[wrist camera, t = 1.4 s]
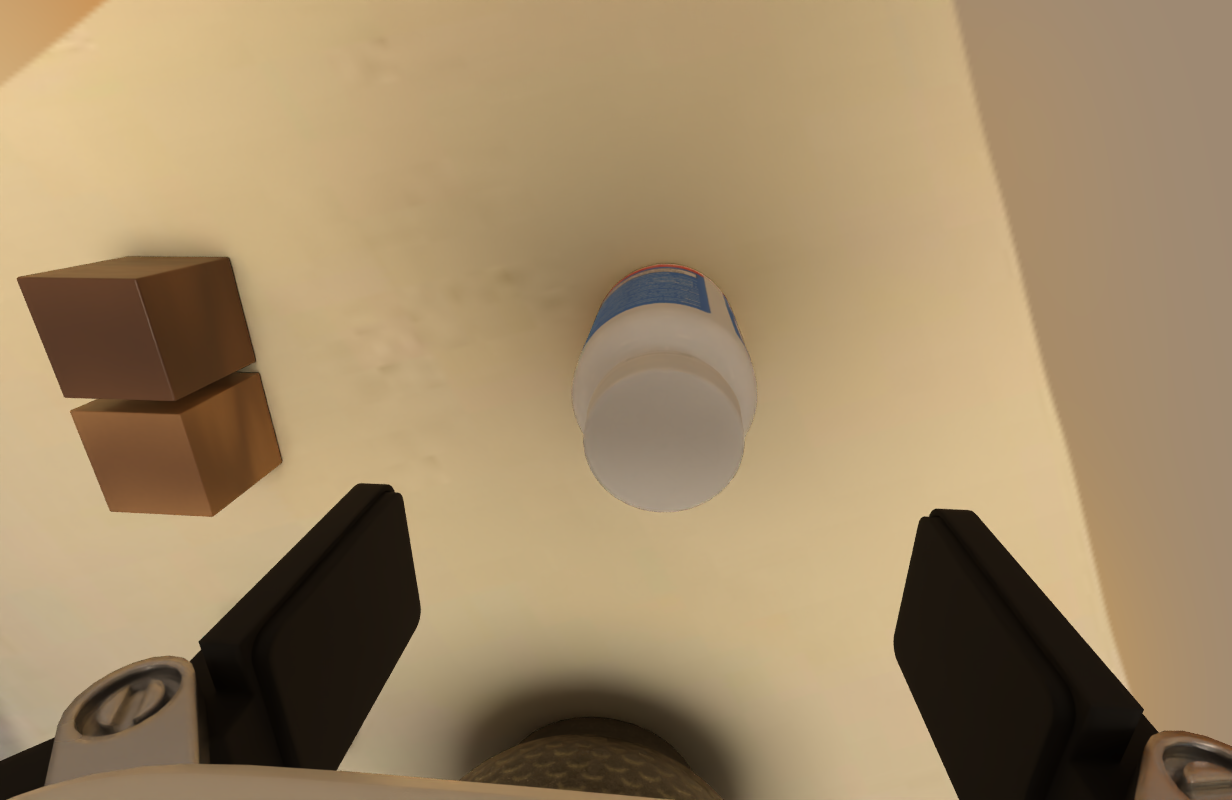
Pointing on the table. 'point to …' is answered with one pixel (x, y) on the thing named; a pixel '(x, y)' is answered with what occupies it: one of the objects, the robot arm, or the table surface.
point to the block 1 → (140, 326)
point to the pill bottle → (664, 390)
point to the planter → (596, 762)
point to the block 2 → (180, 447)
